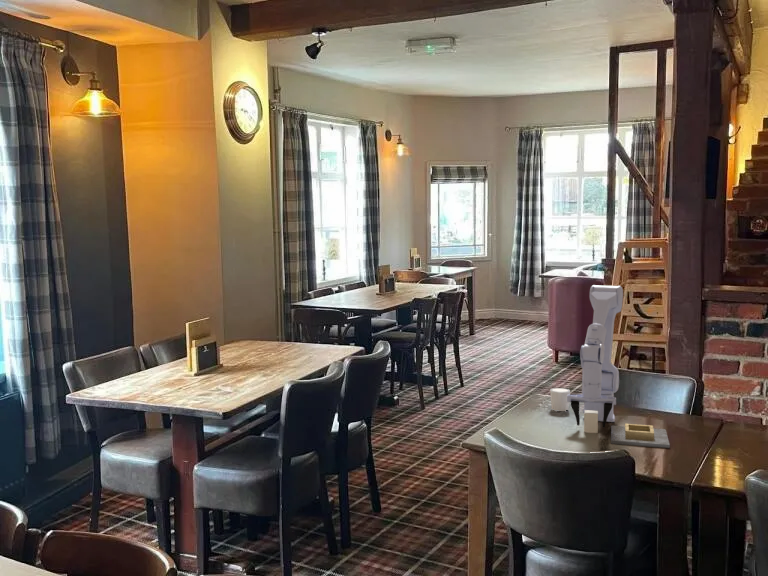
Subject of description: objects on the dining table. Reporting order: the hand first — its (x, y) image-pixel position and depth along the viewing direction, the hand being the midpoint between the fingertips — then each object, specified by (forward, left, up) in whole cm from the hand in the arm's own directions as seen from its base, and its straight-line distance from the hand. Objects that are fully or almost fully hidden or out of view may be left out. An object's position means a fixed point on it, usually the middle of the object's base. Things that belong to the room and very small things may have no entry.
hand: (591, 425), depth 225 cm
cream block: (0, 0, -2) cm, 2 cm away
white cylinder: (-11, +23, -2) cm, 26 cm away
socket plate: (+14, -4, -2) cm, 15 cm away
